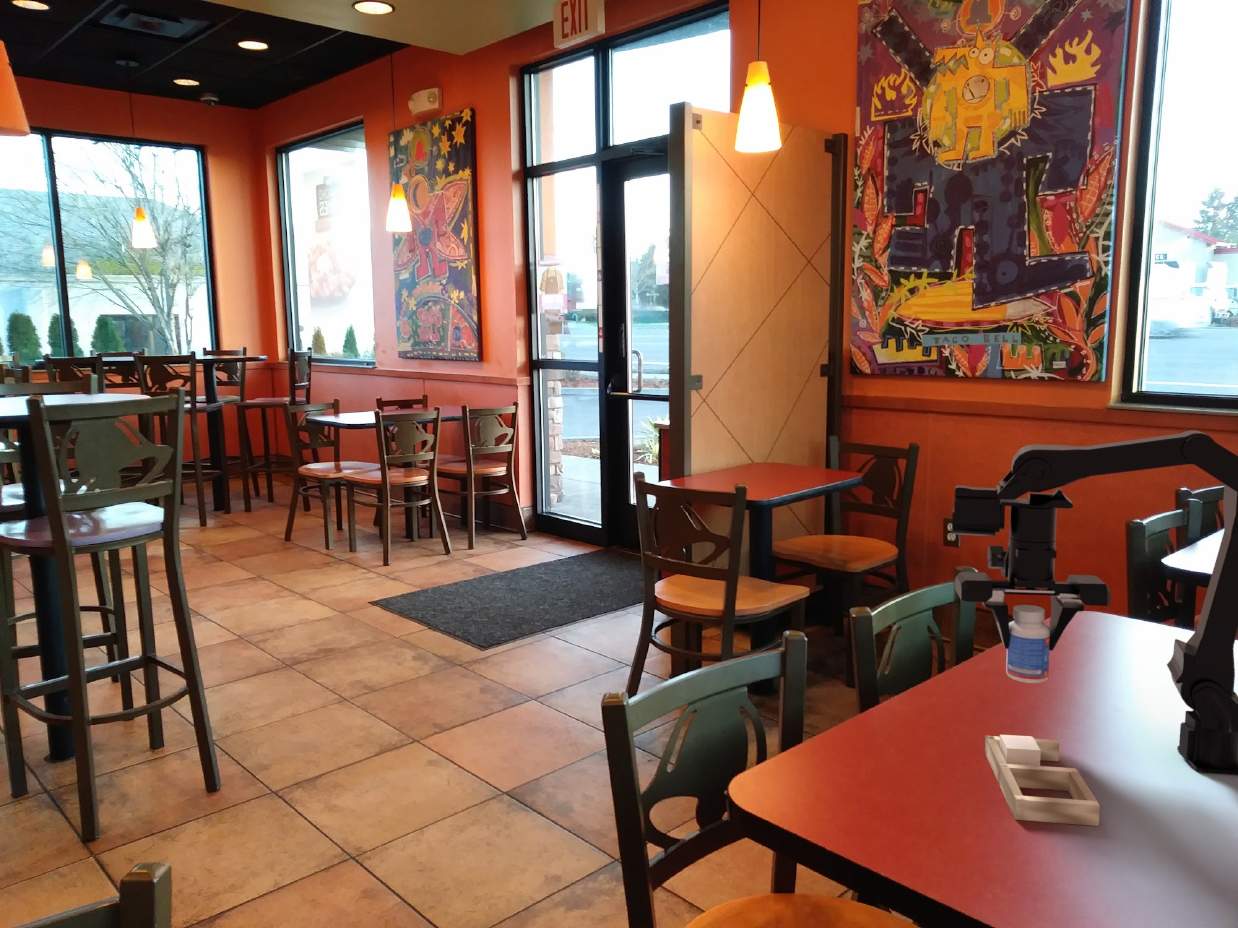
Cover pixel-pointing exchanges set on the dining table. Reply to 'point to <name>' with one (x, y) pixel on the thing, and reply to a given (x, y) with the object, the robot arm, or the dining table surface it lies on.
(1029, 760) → the cream block
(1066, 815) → the caddy
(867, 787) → the dining table surface
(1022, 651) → the pill bottle
